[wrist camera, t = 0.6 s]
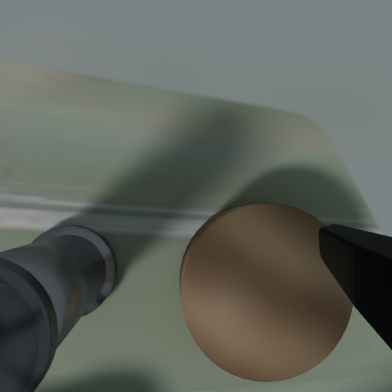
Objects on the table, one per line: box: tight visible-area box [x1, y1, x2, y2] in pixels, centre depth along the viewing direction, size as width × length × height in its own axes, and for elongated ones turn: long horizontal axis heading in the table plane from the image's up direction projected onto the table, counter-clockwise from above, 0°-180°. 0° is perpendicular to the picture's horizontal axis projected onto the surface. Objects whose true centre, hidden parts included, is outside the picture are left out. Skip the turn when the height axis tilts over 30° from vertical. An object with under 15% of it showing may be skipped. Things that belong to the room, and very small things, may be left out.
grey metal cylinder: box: [0, 226, 117, 392], centre depth 17 cm, size 7×7×13 cm
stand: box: [180, 204, 353, 382], centre depth 23 cm, size 12×12×4 cm
